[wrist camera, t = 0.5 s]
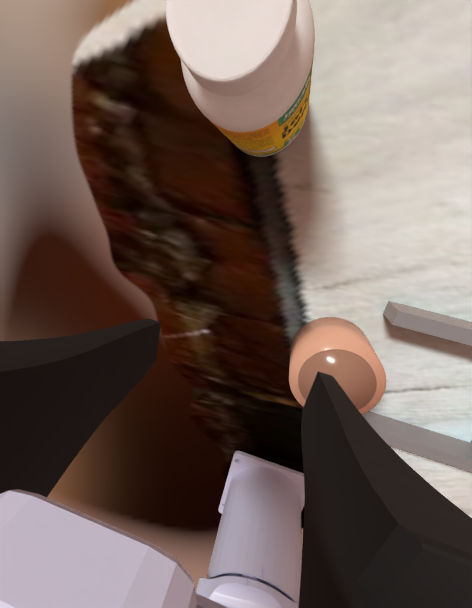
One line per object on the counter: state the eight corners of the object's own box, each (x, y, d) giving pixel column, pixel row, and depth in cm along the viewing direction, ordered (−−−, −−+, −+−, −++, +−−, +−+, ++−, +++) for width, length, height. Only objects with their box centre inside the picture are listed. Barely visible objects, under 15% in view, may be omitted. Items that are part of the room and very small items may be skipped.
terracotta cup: (353, 393, 22) (365, 433, 18) (282, 371, 22) (278, 405, 19) (382, 329, 20) (404, 359, 16) (302, 307, 20) (304, 330, 16)
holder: (476, 456, 21) (494, 479, 19) (338, 412, 22) (341, 430, 21) (562, 345, 17) (594, 361, 15) (388, 301, 19) (398, 310, 17)
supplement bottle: (232, 50, 16) (150, -148, 7) (320, 63, 15) (352, -141, 6) (217, 150, 18) (138, 92, 9) (294, 166, 17) (291, 118, 8)
